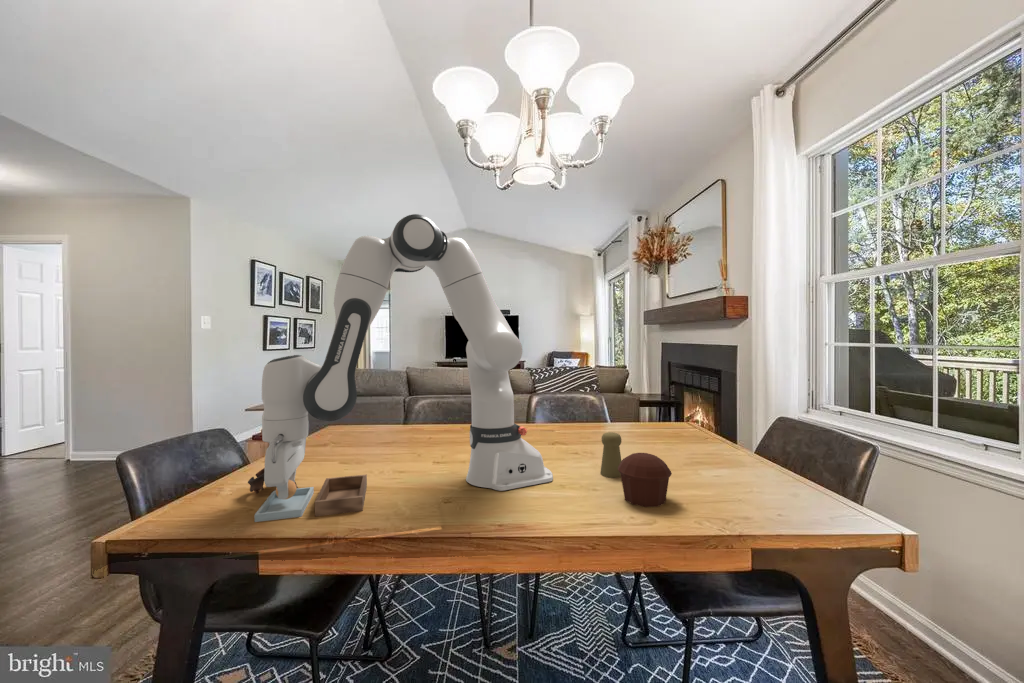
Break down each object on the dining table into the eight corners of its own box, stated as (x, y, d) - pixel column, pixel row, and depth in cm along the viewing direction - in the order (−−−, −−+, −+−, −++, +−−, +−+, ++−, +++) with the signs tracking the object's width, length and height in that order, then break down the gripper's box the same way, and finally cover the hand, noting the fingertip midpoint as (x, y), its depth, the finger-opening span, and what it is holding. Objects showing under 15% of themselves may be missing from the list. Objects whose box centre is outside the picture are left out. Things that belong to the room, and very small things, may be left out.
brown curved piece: (288, 502, 97) (267, 473, 95) (256, 518, 98) (234, 490, 97) (313, 472, 109) (295, 447, 107) (284, 487, 110) (265, 462, 108)
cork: (626, 477, 109) (625, 435, 109) (602, 477, 109) (602, 435, 109) (620, 470, 115) (619, 430, 115) (598, 470, 115) (597, 430, 115)
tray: (313, 495, 99) (313, 486, 99) (301, 519, 86) (301, 509, 86) (273, 499, 97) (273, 490, 97) (254, 524, 84) (254, 514, 84)
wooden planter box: (366, 488, 103) (366, 474, 103) (362, 513, 88) (362, 496, 88) (326, 492, 101) (326, 478, 101) (315, 519, 86) (314, 502, 86)
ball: (298, 494, 94) (298, 476, 94) (294, 500, 90) (294, 482, 90) (278, 496, 93) (278, 478, 93) (273, 503, 89) (273, 484, 89)
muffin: (682, 501, 93) (681, 456, 93) (652, 514, 86) (652, 465, 86) (637, 486, 102) (636, 445, 102) (607, 497, 96) (606, 453, 96)
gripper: (290, 439, 82) (291, 510, 82) (310, 420, 102) (311, 477, 102) (254, 442, 81) (255, 514, 81) (281, 422, 100) (282, 480, 100)
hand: (286, 493), depth 91 cm, fingers closed on ball, 4 cm apart
